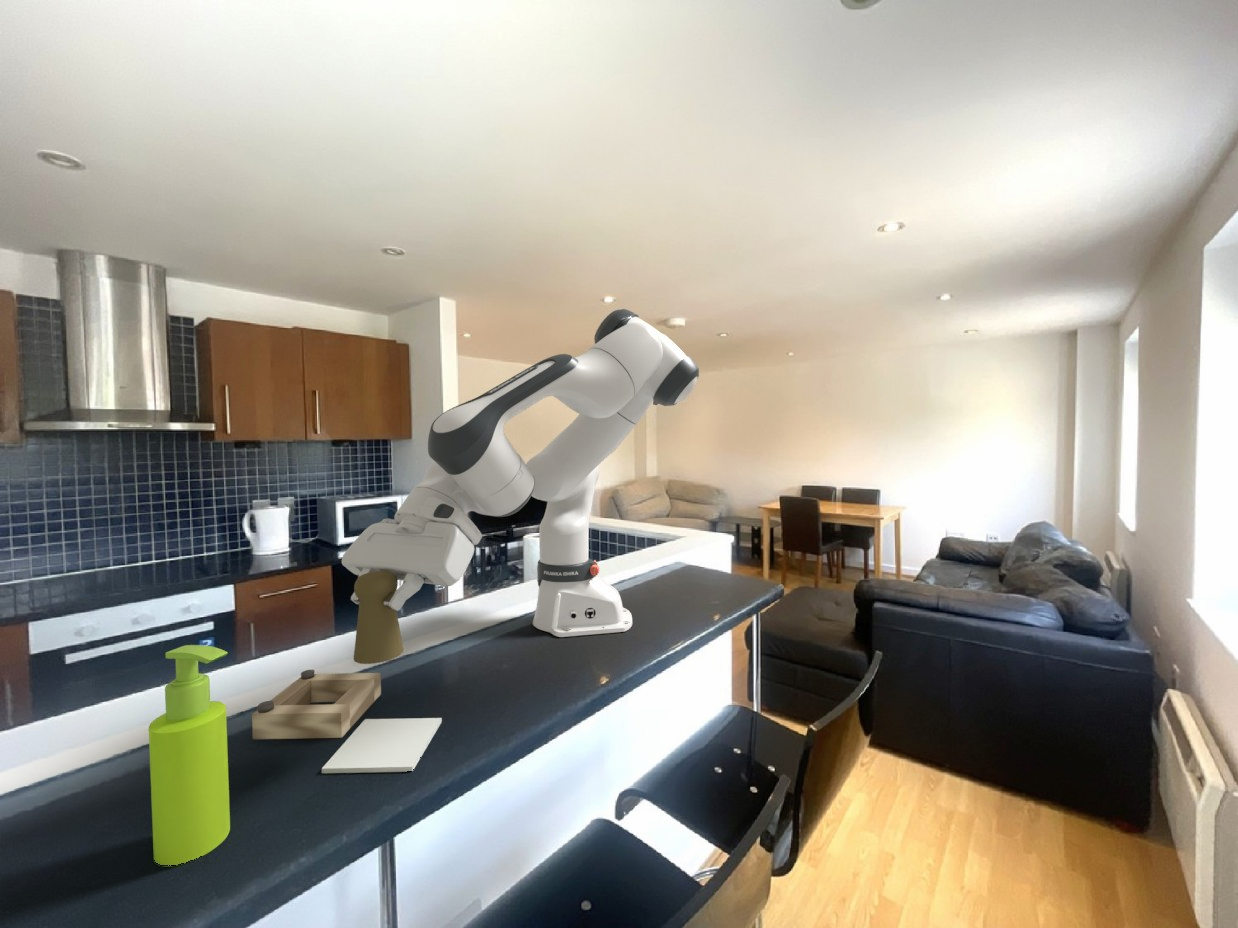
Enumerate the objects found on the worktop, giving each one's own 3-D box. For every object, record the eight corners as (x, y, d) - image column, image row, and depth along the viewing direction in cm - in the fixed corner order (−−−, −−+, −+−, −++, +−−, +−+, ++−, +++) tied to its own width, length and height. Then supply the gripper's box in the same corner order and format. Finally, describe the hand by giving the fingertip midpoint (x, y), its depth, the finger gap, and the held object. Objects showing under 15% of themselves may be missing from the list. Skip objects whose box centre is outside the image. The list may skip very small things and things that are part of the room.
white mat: (441, 721, 72) (441, 717, 72) (412, 771, 61) (412, 766, 61) (365, 723, 72) (364, 719, 72) (321, 773, 61) (321, 768, 61)
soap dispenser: (195, 873, 47) (187, 664, 46) (137, 860, 48) (129, 657, 47) (252, 826, 53) (246, 639, 52) (199, 816, 54) (193, 634, 53)
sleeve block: (380, 693, 81) (380, 667, 80) (341, 737, 69) (340, 706, 68) (305, 695, 80) (304, 668, 80) (252, 739, 68) (251, 708, 68)
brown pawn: (343, 663, 64) (339, 578, 64) (371, 645, 70) (368, 567, 70) (387, 664, 63) (383, 578, 63) (412, 645, 69) (409, 567, 69)
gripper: (366, 506, 77) (306, 585, 68) (469, 510, 68) (415, 601, 60) (391, 530, 81) (338, 608, 72) (491, 536, 72) (444, 626, 64)
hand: (373, 605), depth 66 cm, fingers closed on brown pawn, 5 cm apart
